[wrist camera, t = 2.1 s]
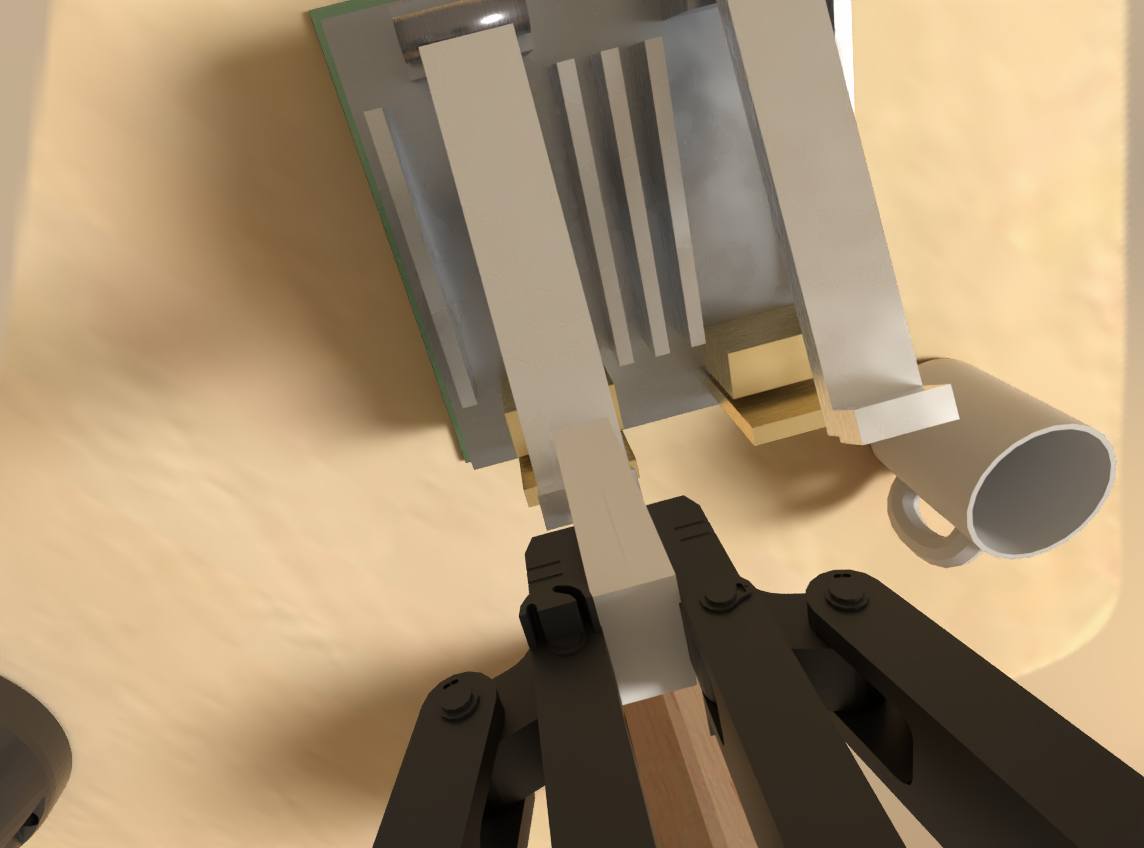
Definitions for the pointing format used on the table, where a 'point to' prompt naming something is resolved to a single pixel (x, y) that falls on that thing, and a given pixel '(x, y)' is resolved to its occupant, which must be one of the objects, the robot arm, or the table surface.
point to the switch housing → (597, 214)
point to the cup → (995, 472)
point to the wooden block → (685, 773)
